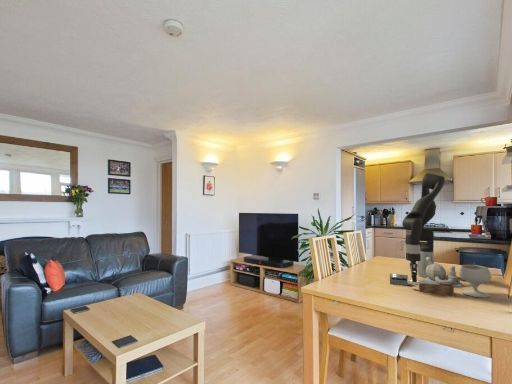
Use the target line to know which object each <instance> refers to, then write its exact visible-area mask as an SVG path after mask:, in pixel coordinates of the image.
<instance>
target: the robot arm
mask: <svg viewBox="0 0 512 384" xmlns="http://www.w3.org/2000/svg"><path fill="white" fill-rule="evenodd" d="M445 180H446V179H445V176H443V175H439V174H434V173H430V172H429V173H427V172H426V173H425V174H424V175H423V176H422V181H421V197H420V199H418V200H416V202H415V204H414V206H413V207H412V210H410V212H409V213H408V214H407V215H406V216H405V217H404V218H403V219H402V224H401V225H402V228H404V229H405V230H407V231H411V232H410V233H408V234H406V236H405V259H406V261H410V262H409V269H410V272H411V279H412V281H413V282H417V280H418V277H417V276H419V277H422V278H427V277H428V276H427V274H426V267H427V266H428V265H429V264H428V262H427V261H426V258H427V257H430V258H431V260H432V262H433V263H435V257H434V256H435V254H434V247H435V246H434V244H435V243H434V240H435V239H434V237H435V235H434V234H435V233H434V230H433V228H432V227H425V226H426V224H428V223H429V222H430V221H431V220H432V219H433V218H434V217H435V215H436V211H437V205H436V202H435V199H436V197H437V196H438V195H439V193H440V192H441V191H442V189H443V187H444V185H445V182H446V181H445ZM430 190H431V191H430ZM420 242H426V243H424V244H421V245H420Z"/></svg>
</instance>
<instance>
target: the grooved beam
mask: <svg viewBox="0 0 512 384" xmlns="http://www.w3.org/2000/svg"><path fill="white" fill-rule="evenodd" d="M418 290H419V293H424V294H430V295H431V294H432V295H433V294H434V295H442V296H450V297H455V292H454V291H455V288H454V287H453V286H452V284H447V283H440V285H435V284H425V283H419V285H418Z"/></svg>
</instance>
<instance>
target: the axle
mask: <svg viewBox="0 0 512 384" xmlns="http://www.w3.org/2000/svg"><path fill="white" fill-rule="evenodd" d="M419 283H425V284H435V285H440V282H432V281H424V280H422V279H417V282H413V281H412V278H411V279H410V278H408V279H407V284H408V285H414V286H419Z"/></svg>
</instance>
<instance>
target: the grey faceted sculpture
mask: <svg viewBox="0 0 512 384" xmlns="http://www.w3.org/2000/svg"><path fill="white" fill-rule="evenodd" d="M426 261H427V262H428V264H429V265H428V266H427V267H426V274H427V276H428V277H424V279H423V281H432V282H440V283H447V284H452V286H453V287H454V289H462V287H464V284H463V283H462V282H461V278H459V276H458V275H457V274H456V273H457V272H456V267H455V265H451V267H450V268H449V269H450V270H448V271H446V269H445V267H443V265H441V264H439V263H435V262H434V263H433V262H432V260H431V258H430V257H427V258H426Z"/></svg>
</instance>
